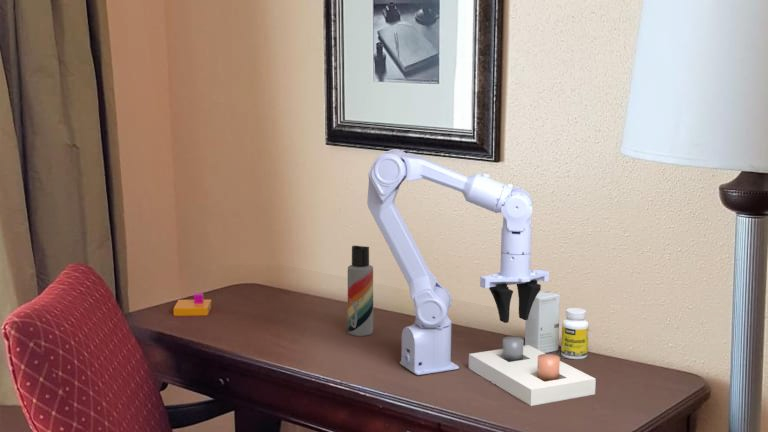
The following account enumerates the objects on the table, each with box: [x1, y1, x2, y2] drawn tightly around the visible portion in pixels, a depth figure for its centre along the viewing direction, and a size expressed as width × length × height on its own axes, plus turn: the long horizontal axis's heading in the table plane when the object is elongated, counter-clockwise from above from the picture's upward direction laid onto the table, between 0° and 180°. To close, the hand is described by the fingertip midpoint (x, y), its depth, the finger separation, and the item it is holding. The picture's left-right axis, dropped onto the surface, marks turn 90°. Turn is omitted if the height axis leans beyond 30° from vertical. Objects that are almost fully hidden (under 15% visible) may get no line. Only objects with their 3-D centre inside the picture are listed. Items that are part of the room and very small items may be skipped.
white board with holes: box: [468, 345, 597, 407], centre depth 177 cm, size 14×22×3 cm, turn 25°
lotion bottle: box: [347, 245, 374, 337], centre depth 206 cm, size 6×6×20 cm
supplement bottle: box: [560, 307, 590, 360], centre depth 192 cm, size 5×5×10 cm
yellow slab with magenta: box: [173, 292, 212, 317], centre depth 225 cm, size 8×8×4 cm
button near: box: [537, 353, 561, 382], centre depth 171 cm, size 4×4×4 cm
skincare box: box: [524, 290, 561, 354], centre depth 195 cm, size 6×4×12 cm
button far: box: [502, 335, 525, 362], centre depth 182 cm, size 4×4×4 cm
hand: (513, 320), depth 181 cm, fingers open, 4 cm apart
